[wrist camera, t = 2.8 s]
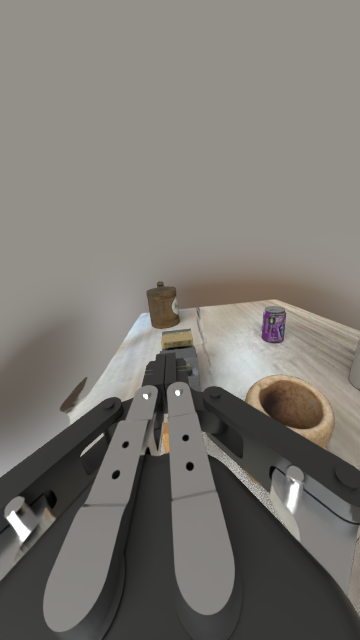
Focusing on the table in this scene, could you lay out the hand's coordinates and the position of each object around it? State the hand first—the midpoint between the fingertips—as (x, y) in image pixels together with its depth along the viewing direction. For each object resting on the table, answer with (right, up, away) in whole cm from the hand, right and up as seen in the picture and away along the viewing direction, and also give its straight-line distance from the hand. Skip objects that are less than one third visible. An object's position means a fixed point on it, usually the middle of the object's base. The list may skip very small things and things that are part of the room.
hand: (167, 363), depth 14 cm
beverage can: (+35, -4, +51) cm, 62 cm away
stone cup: (+18, -19, +15) cm, 30 cm away
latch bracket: (+2, -14, +33) cm, 36 cm away
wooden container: (-7, +1, +80) cm, 80 cm away
